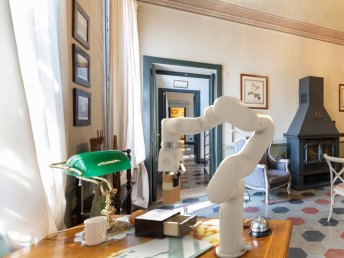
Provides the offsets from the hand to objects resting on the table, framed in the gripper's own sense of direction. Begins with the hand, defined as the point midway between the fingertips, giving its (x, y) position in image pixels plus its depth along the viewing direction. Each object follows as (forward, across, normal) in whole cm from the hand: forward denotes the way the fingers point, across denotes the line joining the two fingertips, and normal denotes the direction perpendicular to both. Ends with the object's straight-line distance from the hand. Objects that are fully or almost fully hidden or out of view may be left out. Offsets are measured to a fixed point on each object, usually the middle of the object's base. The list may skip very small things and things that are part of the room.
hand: (171, 185), depth 105 cm
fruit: (+24, -30, +11) cm, 40 cm away
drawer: (+23, 0, +6) cm, 24 cm away
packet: (+7, 0, 0) cm, 7 cm away
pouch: (+24, -42, 0) cm, 48 cm away
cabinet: (+24, -13, +6) cm, 28 cm away
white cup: (+24, -31, -9) cm, 41 cm away
